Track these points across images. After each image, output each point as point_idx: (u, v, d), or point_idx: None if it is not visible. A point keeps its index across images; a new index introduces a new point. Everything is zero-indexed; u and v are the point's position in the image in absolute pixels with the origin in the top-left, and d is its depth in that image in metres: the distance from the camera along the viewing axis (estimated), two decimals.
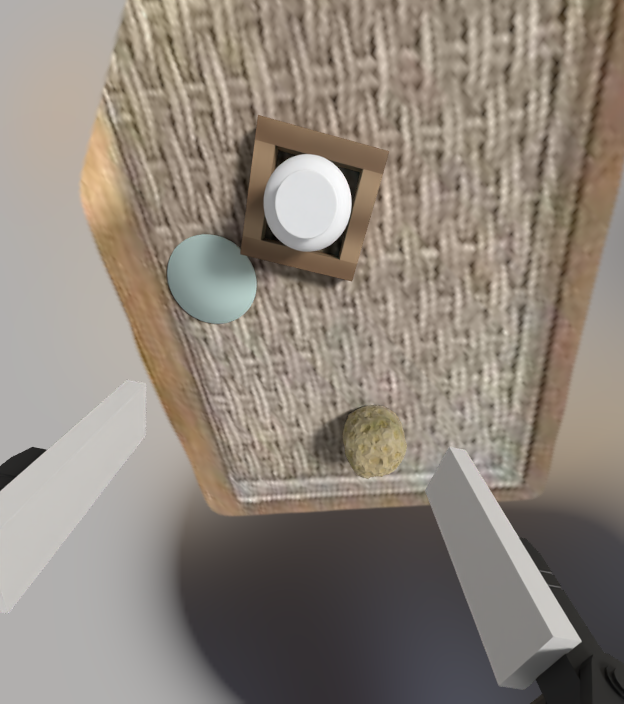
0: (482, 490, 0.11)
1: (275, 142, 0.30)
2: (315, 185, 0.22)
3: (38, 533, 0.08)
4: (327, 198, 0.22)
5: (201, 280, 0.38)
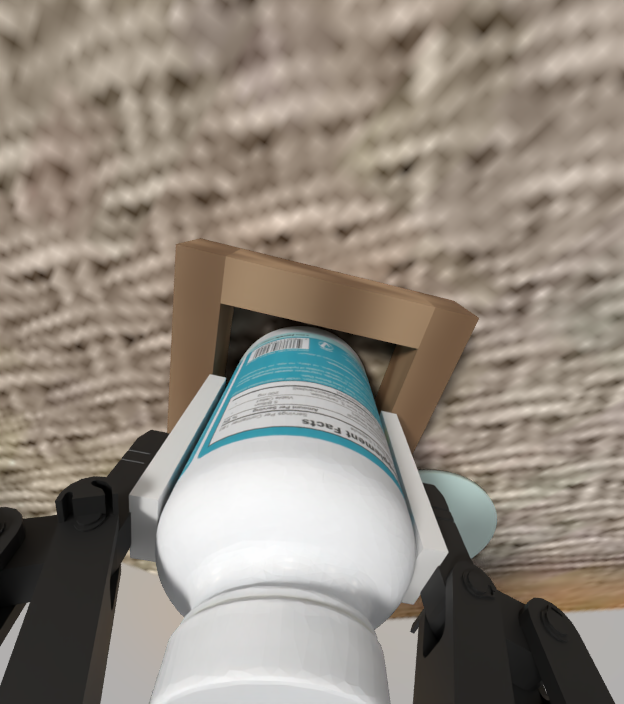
0: (400, 444, 0.13)
1: None
2: None
3: None
4: (235, 702, 0.05)
5: None
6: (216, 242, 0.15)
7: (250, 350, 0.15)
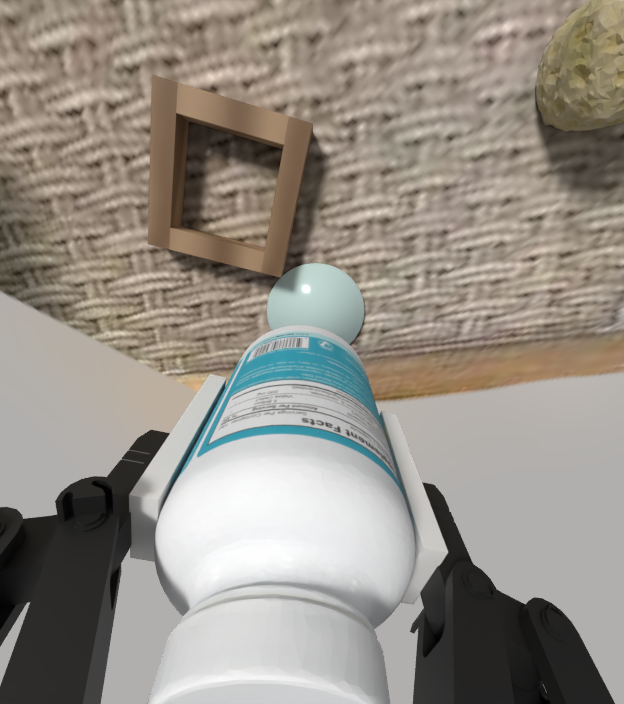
0: (400, 444, 0.13)
1: (167, 227, 0.29)
2: None
3: None
4: (233, 700, 0.05)
5: (314, 324, 0.35)
6: None
7: (250, 349, 0.15)
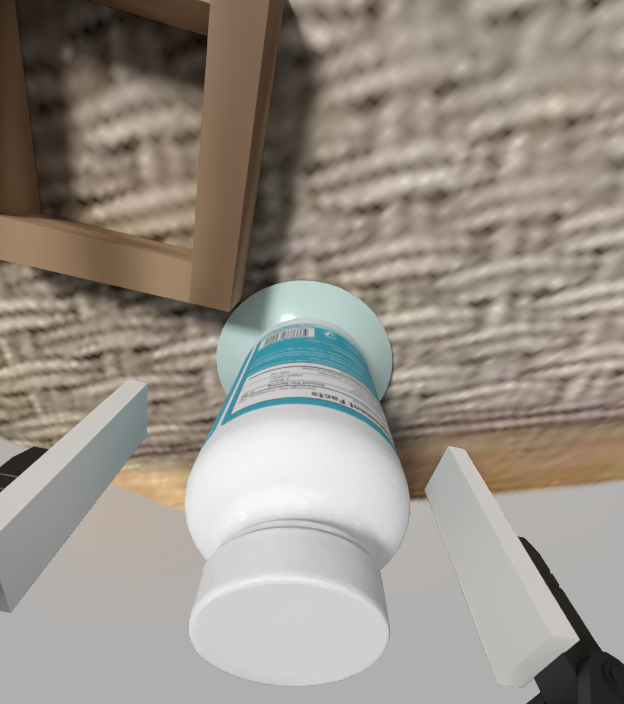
0: (481, 489, 0.11)
1: None
2: (230, 624, 0.07)
3: (40, 532, 0.08)
4: (263, 601, 0.06)
5: None
6: None
7: (260, 339, 0.17)
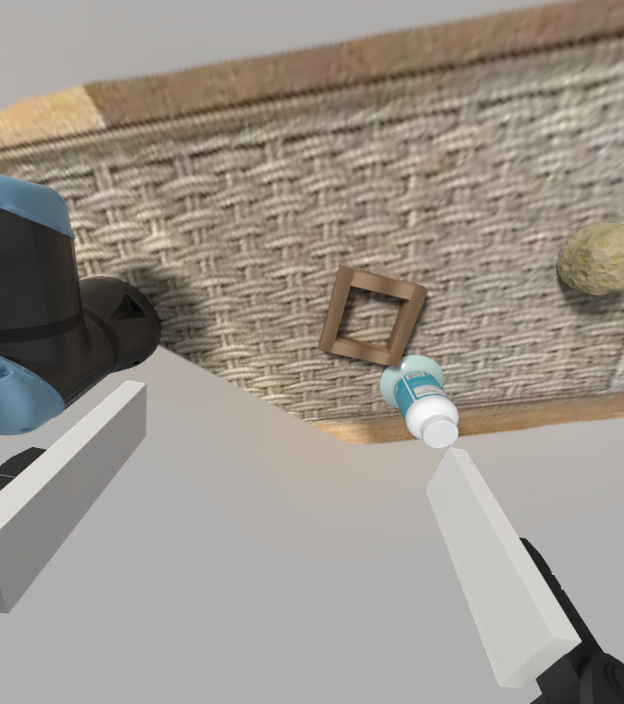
0: (482, 490, 0.11)
1: (333, 341, 0.48)
2: (432, 431, 0.41)
3: (38, 533, 0.08)
4: (439, 426, 0.41)
5: None
6: None
7: (403, 375, 0.51)
